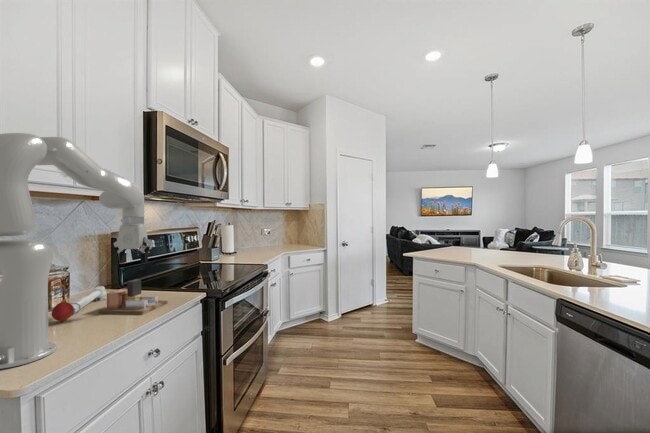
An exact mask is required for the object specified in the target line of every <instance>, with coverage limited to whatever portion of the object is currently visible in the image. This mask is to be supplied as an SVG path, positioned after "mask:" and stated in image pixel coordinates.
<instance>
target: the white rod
mask: <svg viewBox="0 0 650 433" xmlns="http://www.w3.org/2000/svg"><path fill="white" fill-rule="evenodd" d="M107 293H109V292H108V291H107V290H106V288H105V286H103V285H100V286H97V287H95V288H94V290H93V291H92V292H90V293H88V294H86V295H84V296H82V297H81V298H79V299H77V300H75V301H74V302H69V303H70V304H71V305H72V306H73V307H74V312H73V314H72V315H71V316H73V315H75V314H76V313H77V314H78V313H79V312H80V311H82V309H83V308H84V307H86V306H87V305H89V304H90V303H91V302H93V301H94V302H102V301H104V300H107Z"/></svg>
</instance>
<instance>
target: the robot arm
mask: <svg viewBox="0 0 650 433" xmlns="http://www.w3.org/2000/svg"><path fill="white" fill-rule="evenodd" d="M37 166H54V167H56V168H57V169H58V170H60V171H61V172H63V173H64V174H65V175H66V176H68V177H69V178H71V179H72V180H73V181H75V182H76V183H78V185H81V186H83V187H87V188H90V189H96V190H101V191H102V192H101V193H100V195H99V198H98V199H99V203H100V204H101V205H102V206H103V207H105V208H106V209H107V208H108V209H113V210H114V209H116V210H117V209H122V212H121V216H122V218H121V219H120V222H121V223H122V224H121V225H120V226H119V230H118V236H117V240H116V241H115V242H113V246H114V249H115V250H116V252H117V254H118V263H119V264H124V263H127V261H128V258H127V257H128V253H127V251H128V250H137V249H139V251H140V252H141V253H140V258H139V259H140V260H139V261H140V264H145V263H149V262H148V261H149V253H150V252H151V250H152V249H153V248H152V247H153V245H154V244H155V243H154V241H152V240H150V239H148V232H147V227H146V226H147V225H146V224H145V194H144V193H142V192H141V191H140V189H139V188H138V187H137V186H136V185H135V184H134V183H133V182H131V181H130V180H129V179H127V178H126V177H124V176H121V175H119V174H117V173H115V172H112V171H111V170H108V169H107V168H106V169H105V168H103V167H102V166H100V165H99V164H98V163H97V162H95V161H94V160H93V159H92V158H91V157H90V156H88V155H87V154H86V153H85V152H84V151H83V150H82V149H81V148H80V147H78V146H77V145H76V144H75V143H74V142H73V141H72V140H70V139H68V138H66V137H61V136H42V137H41V136H38V135H36V134H32V133H27V132H26V133H24V132H6V133H0V276H2V277H1V280H0V370H1V369H3V370H4V369H8V368H9V369H10V368H13V367H17V366H22V365H26V364H29V363H32V362H35V361H38V360H40V359H43V358H45V357H47V356H49V355H50V354H52V353H54V352H55V351H56V349H57V344H56V343H55V342H50V341H49V277H50V271H51V266H52V262H53V251H52V249H51V248H50V246H49V245H48V244H46V243H44V242H43V241H40V240H34V239H8V237H15V236H23V235H26V234H28V233H30V232H32V231H33V230H35V228H36V225H37V218H36V213H35V209H34V206H33V202H32V198H31V194H30V191H29V190H30V188H29V176H30V174H31V173H32V170H34V168H35V167H37Z"/></svg>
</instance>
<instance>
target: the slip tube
mask: <svg viewBox="0 0 650 433" xmlns="http://www.w3.org/2000/svg"><path fill="white" fill-rule="evenodd" d="M126 283H127V287H126V288H127V294H124V295H122V303H126V301H127V300H130V299H137V300H141V295H142V278H141V279H139V278H137V279H133V280H128V281H127V282H126Z"/></svg>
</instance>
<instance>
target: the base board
mask: <svg viewBox="0 0 650 433" xmlns="http://www.w3.org/2000/svg"><path fill="white" fill-rule="evenodd" d="M167 304H168V300H162V299H161V300H160V299H158V303H156V304H154V305H152V306H149V307H147V308H145V309H134V308H126V305H125V306H122V307H120V308H107V307H104V308H102V309H99V310H98V314H107V315H108V314H110V315H115V314H116V315H145V314H147V313H149V312H152V311H154V310H156V309H158V308H161V307H163V306H166V305H167Z"/></svg>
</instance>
